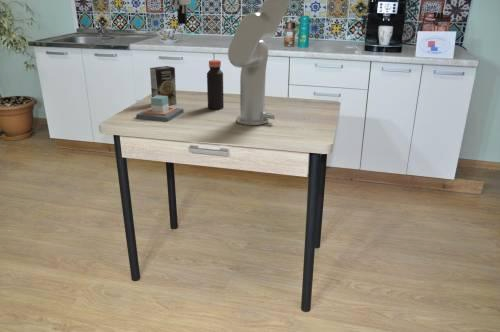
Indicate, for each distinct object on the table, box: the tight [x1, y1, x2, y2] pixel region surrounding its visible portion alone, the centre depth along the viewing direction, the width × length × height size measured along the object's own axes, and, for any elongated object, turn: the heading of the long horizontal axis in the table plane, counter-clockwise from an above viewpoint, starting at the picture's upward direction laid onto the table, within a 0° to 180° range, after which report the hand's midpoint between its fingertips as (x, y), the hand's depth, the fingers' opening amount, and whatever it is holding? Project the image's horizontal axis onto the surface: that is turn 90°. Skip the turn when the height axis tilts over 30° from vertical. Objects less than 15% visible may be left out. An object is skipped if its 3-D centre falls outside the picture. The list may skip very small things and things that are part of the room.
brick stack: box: [150, 95, 170, 113], centre depth 190 cm, size 5×5×6 cm
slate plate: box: [135, 106, 185, 122], centre depth 191 cm, size 14×14×2 cm
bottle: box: [206, 59, 225, 111], centre depth 199 cm, size 7×7×20 cm
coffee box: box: [149, 65, 177, 106], centre depth 205 cm, size 9×6×16 cm
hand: (182, 23), depth 187 cm, fingers closed
